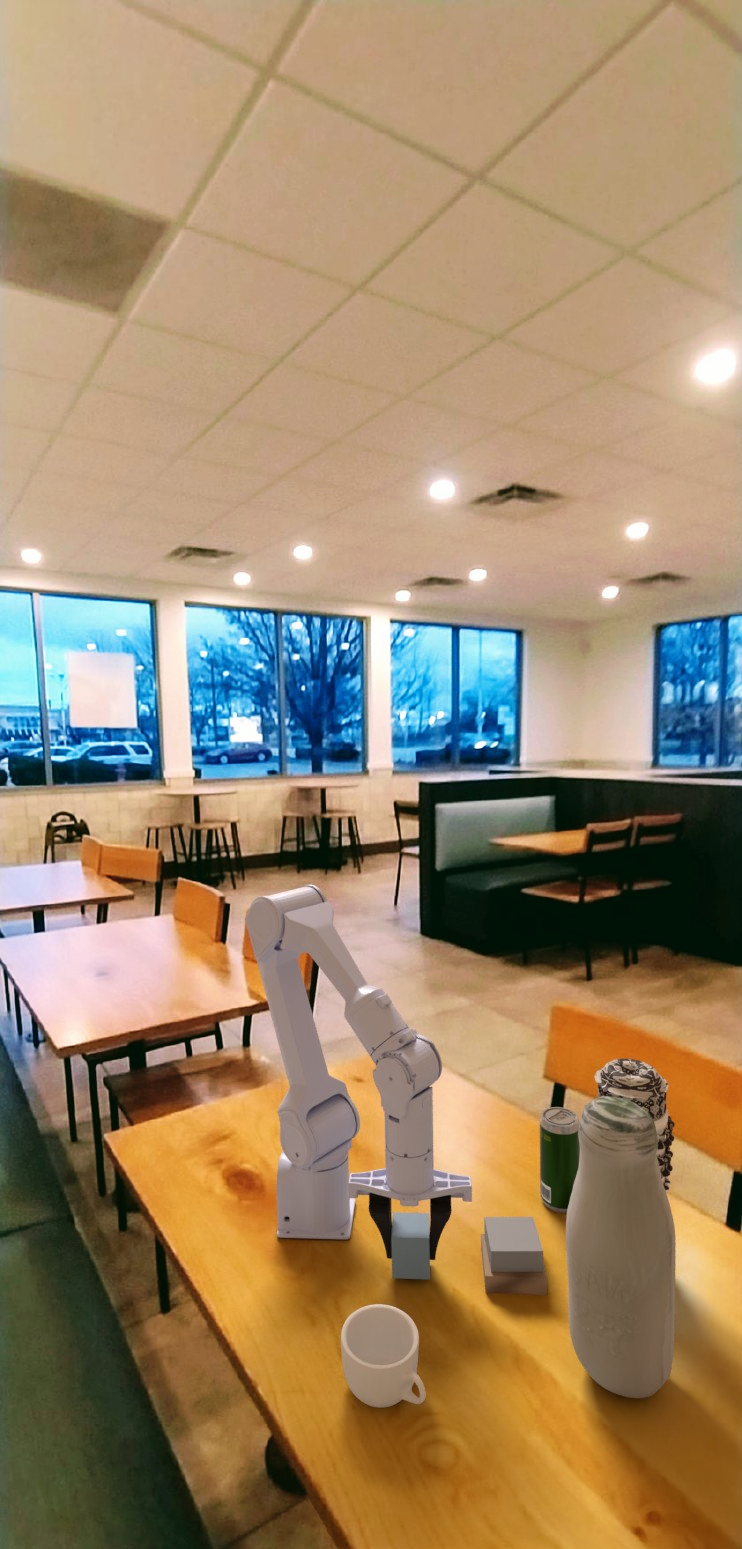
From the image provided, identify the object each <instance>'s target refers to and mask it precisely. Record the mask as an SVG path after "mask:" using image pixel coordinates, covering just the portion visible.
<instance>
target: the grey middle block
mask: <svg viewBox="0 0 742 1549" xmlns="http://www.w3.org/2000/svg"><path fill="white" fill-rule="evenodd" d="M483 1222H484V1223H483V1224H484V1229H483V1230H484V1234H485V1241H486V1247H487V1252H488V1257H489V1263H490V1268H491V1272H543V1261H544V1250H543V1246H542V1243H541V1238H540V1235H539V1232H538V1229H537V1225H536V1222H535V1219H534V1216H484V1218H483Z"/></svg>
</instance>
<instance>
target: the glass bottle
mask: <svg viewBox="0 0 742 1549" xmlns="http://www.w3.org/2000/svg"><path fill="white" fill-rule="evenodd" d="M579 1123H580V1124H579V1132H578V1135H579V1143H580V1158H579V1168H578V1171H577V1175H576V1178H575V1181H574V1185H573V1190H572V1193H571V1197H570V1202H569V1205H568V1209H567V1213H566V1221H565V1247H566V1249H565V1250H566V1251H565V1252H566V1264H567V1265H566V1269H567V1282H568V1283H567V1284H568V1285H567V1288H568V1289H567V1292H568V1293H567V1299H568V1300H567V1305H568V1306H567V1307H568V1308H567V1310H568V1327H569V1328H568V1329H569V1336H570V1338H571V1339H570V1340H571V1343H572V1346H573V1349H574V1352H575V1355H576V1357H577V1359H578V1360H579V1362H580V1364H581V1366H582V1367H583V1369H584V1370H585V1372H586V1373H587V1374H588V1375H589V1376H590V1377H591V1379H593V1380H594V1381H595V1382H596V1383H597V1384H598V1385H599V1386H601V1387H602V1388H603V1389H605V1390H607V1391H608V1392H610V1393H612V1394H616V1395H618V1396H622V1397H624V1398H628V1399H629V1398H631V1399H645V1398H649V1397H651V1396H653V1395H655V1394H656V1392H658V1391H659V1390H660V1389H662V1387H663V1386H664V1385H665V1383H666V1381H668V1379H669V1378H670V1377H671V1373H672V1369H673V1368H672V1367H673V1360H674V1353H675V1351H674V1350H675V1347H674V1346H675V1331H676V1330H675V1329H676V1328H675V1326H676V1325H675V1323H676V1319H675V1318H676V1252H677V1251H676V1247H677V1246H676V1245H677V1244H676V1243H677V1242H676V1228H675V1221H674V1218H673V1213H672V1209H671V1204H670V1201H669V1198H668V1195H667V1194H668V1193H667V1194H666V1191H665V1189H664V1185H663V1182H662V1178H661V1172H660V1168H659V1164H658V1159H657V1155H656V1152H657V1149H658V1138H657V1132H656V1127H655V1123H654V1121H653V1119H652V1117H651V1116H650V1115H649V1114H648V1113H647V1112H646V1111H645V1110H644V1109H643V1108H641V1107H640V1106H639V1105H637V1104H635V1103H634V1102H631V1101H629V1100H626V1099H622V1098H617V1097H608V1096H604V1097H599V1098H598V1097H596V1098H595V1099H592V1100H591V1101H590V1102H588V1103H587V1104H585V1105H584V1107H583V1111H582V1113H581V1116H580V1121H579Z"/></svg>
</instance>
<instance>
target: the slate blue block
mask: <svg viewBox="0 0 742 1549" xmlns="http://www.w3.org/2000/svg"><path fill="white" fill-rule="evenodd" d="M429 1235H430V1213H429V1212H399V1211H398V1212H395V1211H394V1212H392V1235H391V1243H392V1259H391V1277H392V1279H404V1280H406V1279H409V1280H410V1279H411V1280H431V1260H430V1246H429Z"/></svg>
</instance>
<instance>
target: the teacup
mask: <svg viewBox="0 0 742 1549" xmlns="http://www.w3.org/2000/svg"><path fill="white" fill-rule="evenodd" d="M419 1336H420V1334H419V1330H418V1327H417V1325H416V1322H414V1320H413V1318H412V1317H411V1316H410V1315H409V1314H408V1313H406V1312H405V1311H403V1310H401V1309H400V1308H399V1307H395V1306H393V1305H388V1304H381V1303H375V1304H369V1305H365V1306H363V1307H360V1308H358V1309H356V1310H355V1311H353V1312H352V1313H351V1314H350V1315H348V1317H347V1318H346V1320H345V1321H344V1322H343V1326H342V1327H341V1332H340V1350H341V1351H340V1352H341V1361H342V1362H341V1363H342V1368H343V1375H344V1378H345V1380H346V1381H345V1382H346V1383H347V1386H348V1387H349V1390H350V1391H351V1392H352V1393H353V1395H354V1396H355V1397H356V1398H357V1399H358V1400H359V1401H361V1402H362V1403H364V1404H366V1405H367V1406H370V1407H372V1408H373V1407H374V1408H381V1409H382V1408H389V1407H391V1406H394V1405H396V1404H398V1403H399V1402H401V1401H402V1400H403V1401H406V1402H409V1403H411V1404H415V1405H421V1404H422V1403H423V1402H424V1401H425V1400H426V1395H427V1394H426V1388H425V1385H424V1382H423V1380H422V1379H421V1377H420V1376H419V1374H417V1373H418V1362H419V1351H420V1350H419V1349H420V1348H419V1346H420V1337H419ZM414 1384H415V1385H416V1387H417V1388H418V1392H419V1396H417V1395H416V1394H415V1393H414V1392H413V1390H412V1388H413V1386H414Z"/></svg>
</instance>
